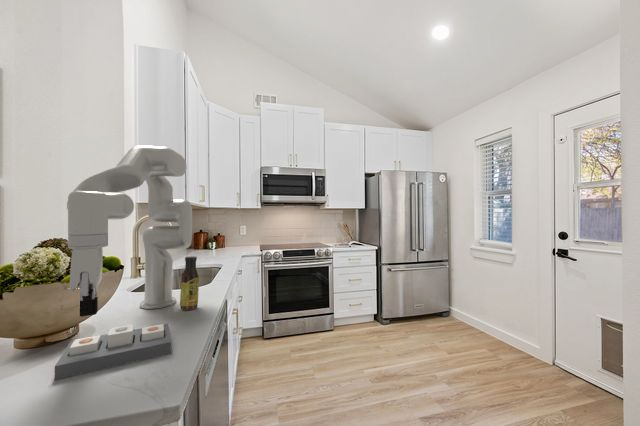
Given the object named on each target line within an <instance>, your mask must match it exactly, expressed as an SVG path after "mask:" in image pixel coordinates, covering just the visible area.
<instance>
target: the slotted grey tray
mask: <svg viewBox="0 0 640 426" xmlns="http://www.w3.org/2000/svg"><path fill="white" fill-rule="evenodd" d="M163 326H164V337H162V338H157V339H152V340H147V341H142V328H143V327H141V328H136V329H134V335H133V343H132V344H127V345H122V346H117V347H112V348H108V334H109V333H107V334H101V345H100V349H99V350H97V351H92V352H86V353H81V354H76V355H71V356H70V347H71V345H72V344H73V342H74V340H75V339H73V340H70V342H69V344H68V345H67V347H66V348H65V350H64V352H62V354H61V356H60V358H59V359H58V361H57V362H56V364H55V365H54V377H53V379H54V381H58V380H61V379H65V378H71V377H74V376H80V375H83V374H87V373H92V372H96V371H100V370H105V369H109V368H113V367H118V366H123V365H127V364H132V363H135V362H140V361H144V360H148V359H154V358H157V357H158V358H159V357H162V356H167V355H170V354H172V339H171V332H170V326H169V323H163Z"/></svg>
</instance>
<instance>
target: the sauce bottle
mask: <svg viewBox="0 0 640 426" xmlns="http://www.w3.org/2000/svg"><path fill="white" fill-rule="evenodd" d="M197 258H198V257H197V256H185V257H184V261H185V267H184V268H185V269H184V270H183V272H182V274H181V279H180V280H181V281H180V297H179V305H180V311H185V312H187V311H192V310H193V311H194V310H195V309H197V308H198V304H199V288H200V287H199V285H200V284H199V283H200V277H199V273H198V270H197Z"/></svg>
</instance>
